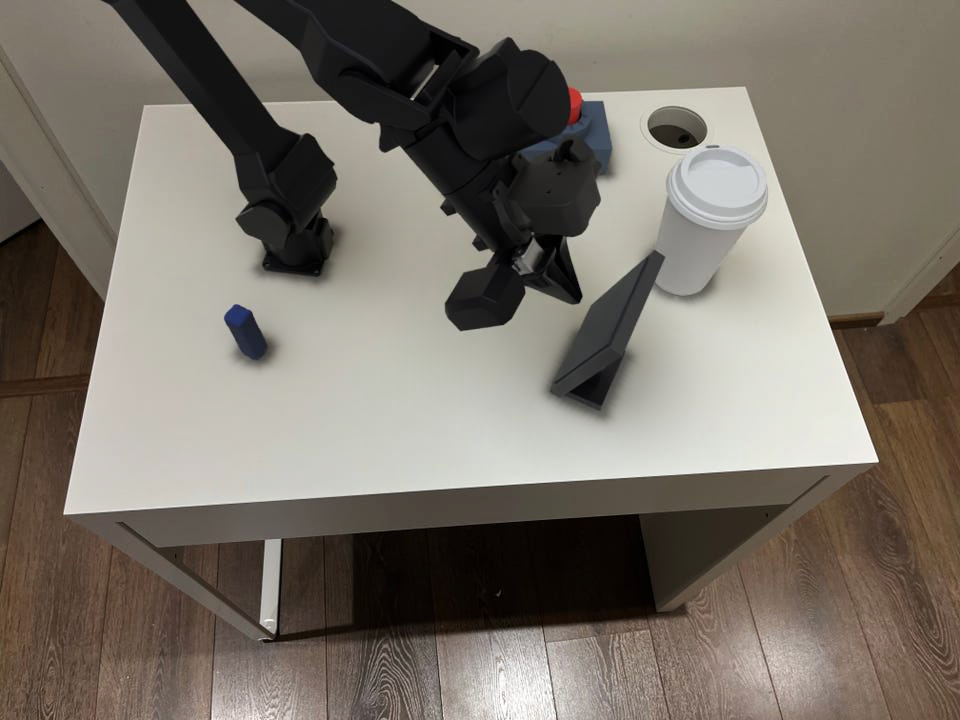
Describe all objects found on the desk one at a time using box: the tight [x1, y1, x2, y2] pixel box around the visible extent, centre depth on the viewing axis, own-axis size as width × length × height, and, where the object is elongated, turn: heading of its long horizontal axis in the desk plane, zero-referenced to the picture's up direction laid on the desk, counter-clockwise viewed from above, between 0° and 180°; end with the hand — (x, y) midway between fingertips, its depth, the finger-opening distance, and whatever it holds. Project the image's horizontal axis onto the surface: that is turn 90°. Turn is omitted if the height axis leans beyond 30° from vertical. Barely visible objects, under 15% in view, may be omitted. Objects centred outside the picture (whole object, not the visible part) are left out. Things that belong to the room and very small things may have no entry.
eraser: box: [223, 303, 268, 361], centre depth 68 cm, size 2×2×7 cm
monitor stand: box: [563, 350, 627, 411], centre depth 68 cm, size 5×7×6 cm
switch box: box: [518, 98, 613, 176], centre depth 83 cm, size 11×8×6 cm
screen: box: [548, 249, 665, 399], centre depth 63 cm, size 1×11×12 cm, turn 154°
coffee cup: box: [653, 143, 769, 297], centre depth 71 cm, size 10×10×15 cm
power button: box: [568, 86, 583, 125], centre depth 80 cm, size 4×4×2 cm
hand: (577, 301), depth 62 cm, fingers closed
